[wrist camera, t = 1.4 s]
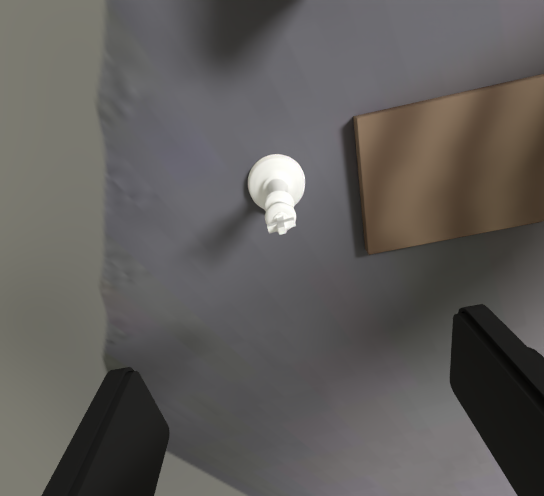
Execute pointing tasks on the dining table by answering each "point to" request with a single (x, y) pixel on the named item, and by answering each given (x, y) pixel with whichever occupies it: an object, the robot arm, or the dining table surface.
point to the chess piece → (277, 190)
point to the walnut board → (452, 165)
